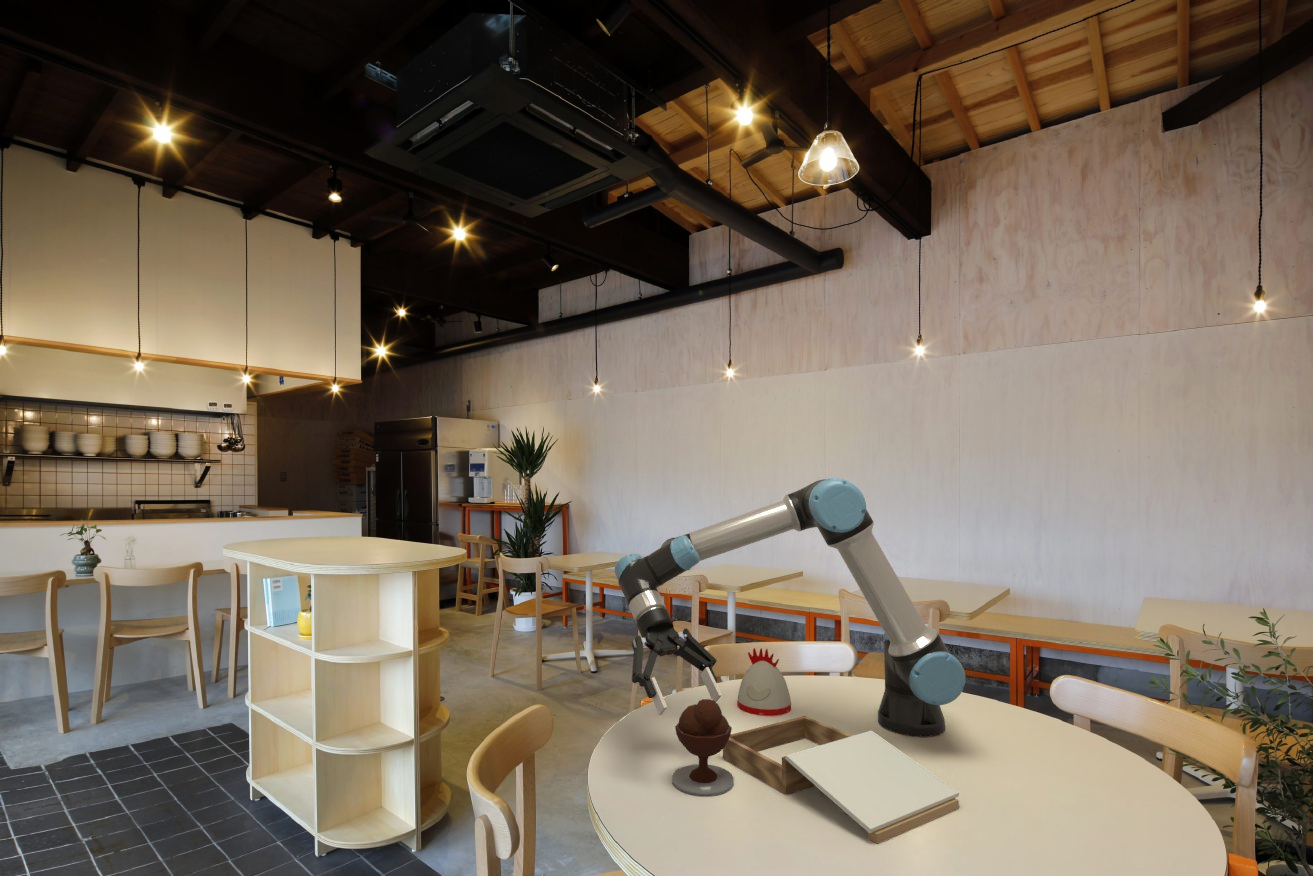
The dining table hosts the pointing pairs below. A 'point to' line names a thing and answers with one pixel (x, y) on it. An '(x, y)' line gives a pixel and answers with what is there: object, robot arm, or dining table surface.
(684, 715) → the ice cream bowl
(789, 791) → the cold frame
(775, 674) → the kitchen timer
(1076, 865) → the dining table surface
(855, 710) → the dining table surface
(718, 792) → the coaster
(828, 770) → the lid
